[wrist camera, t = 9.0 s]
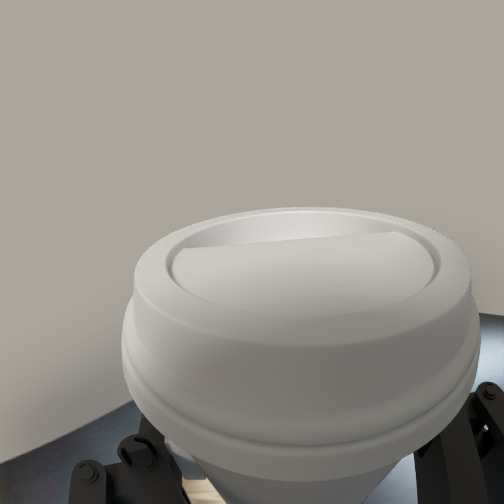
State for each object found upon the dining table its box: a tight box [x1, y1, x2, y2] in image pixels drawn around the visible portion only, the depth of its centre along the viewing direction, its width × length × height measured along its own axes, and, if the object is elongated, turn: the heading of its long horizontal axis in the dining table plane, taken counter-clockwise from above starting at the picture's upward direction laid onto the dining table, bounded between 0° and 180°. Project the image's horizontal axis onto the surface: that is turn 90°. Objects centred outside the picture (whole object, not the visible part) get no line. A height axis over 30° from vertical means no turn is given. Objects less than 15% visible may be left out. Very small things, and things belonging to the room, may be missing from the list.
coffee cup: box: [121, 207, 481, 504], centre depth 10 cm, size 10×10×15 cm
